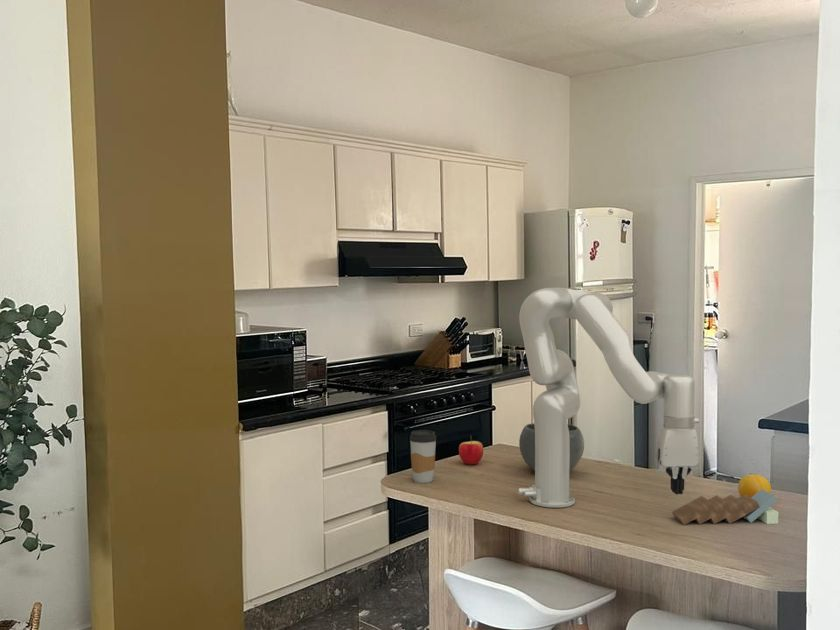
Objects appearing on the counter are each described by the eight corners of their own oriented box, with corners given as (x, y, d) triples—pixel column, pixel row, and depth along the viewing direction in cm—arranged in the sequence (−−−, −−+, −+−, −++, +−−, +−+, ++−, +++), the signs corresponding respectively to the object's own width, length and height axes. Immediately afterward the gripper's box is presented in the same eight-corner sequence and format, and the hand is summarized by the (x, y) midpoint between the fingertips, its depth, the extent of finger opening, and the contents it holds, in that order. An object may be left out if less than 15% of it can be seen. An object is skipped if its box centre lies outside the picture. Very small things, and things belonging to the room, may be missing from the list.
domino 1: (681, 518, 204) (712, 502, 204) (671, 511, 210) (701, 495, 210) (684, 525, 204) (714, 508, 204) (674, 517, 210) (704, 501, 210)
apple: (457, 466, 265) (457, 436, 265) (460, 460, 274) (460, 431, 273) (482, 467, 264) (482, 437, 263) (484, 461, 272) (484, 432, 272)
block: (766, 523, 205) (767, 512, 205) (751, 514, 213) (751, 503, 213) (778, 523, 205) (778, 512, 205) (762, 514, 213) (762, 503, 213)
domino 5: (747, 517, 205) (773, 495, 206) (735, 510, 211) (761, 488, 212) (751, 522, 205) (777, 500, 206) (739, 515, 211) (765, 494, 212)
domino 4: (726, 517, 205) (756, 501, 205) (715, 510, 211) (745, 494, 211) (729, 523, 205) (759, 507, 205) (718, 516, 211) (748, 500, 211)
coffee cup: (441, 479, 249) (441, 431, 248) (427, 485, 242) (427, 436, 241) (418, 475, 253) (418, 428, 252) (404, 481, 246) (404, 433, 245)
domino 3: (711, 518, 204) (741, 501, 205) (701, 511, 210) (731, 494, 211) (714, 524, 205) (744, 507, 205) (704, 516, 211) (733, 500, 211)
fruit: (731, 500, 226) (731, 472, 225) (752, 497, 229) (753, 469, 228) (755, 509, 218) (756, 480, 217) (777, 505, 221) (778, 477, 220)
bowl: (589, 481, 247) (590, 432, 246) (523, 480, 247) (523, 432, 246) (577, 465, 267) (578, 420, 266) (516, 465, 267) (516, 420, 266)
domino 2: (696, 518, 204) (727, 501, 205) (687, 511, 210) (716, 495, 211) (699, 524, 204) (730, 507, 205) (689, 517, 210) (719, 501, 211)
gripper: (700, 419, 210) (698, 488, 211) (644, 420, 209) (643, 489, 210) (713, 424, 202) (711, 496, 203) (655, 425, 201) (654, 497, 202)
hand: (677, 492), depth 206 cm, fingers closed
